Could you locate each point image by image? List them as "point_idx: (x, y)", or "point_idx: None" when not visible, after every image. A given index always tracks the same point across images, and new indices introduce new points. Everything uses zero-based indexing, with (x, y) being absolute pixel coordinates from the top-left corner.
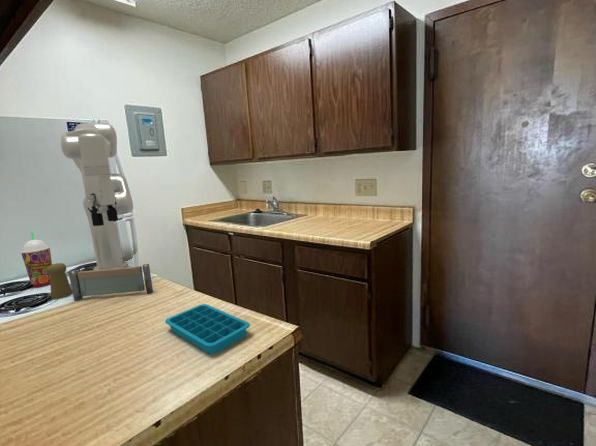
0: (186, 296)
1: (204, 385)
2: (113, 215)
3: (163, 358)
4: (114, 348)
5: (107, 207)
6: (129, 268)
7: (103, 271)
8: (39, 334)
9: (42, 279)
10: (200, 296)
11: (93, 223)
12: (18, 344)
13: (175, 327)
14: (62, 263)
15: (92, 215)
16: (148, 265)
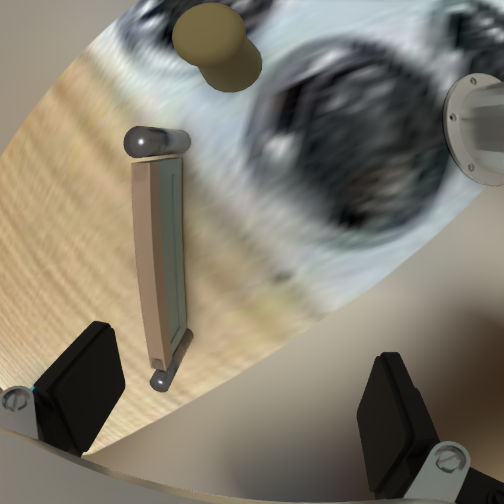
0: (153, 399)
1: (2, 388)
2: (371, 434)
3: (13, 365)
4: (12, 316)
5: (411, 483)
6: (148, 342)
7: (137, 260)
8: (28, 175)
9: None
10: (151, 416)
11: (86, 335)
12: (9, 163)
13: (32, 387)
14: (219, 44)
15: (47, 384)
16: (158, 390)
